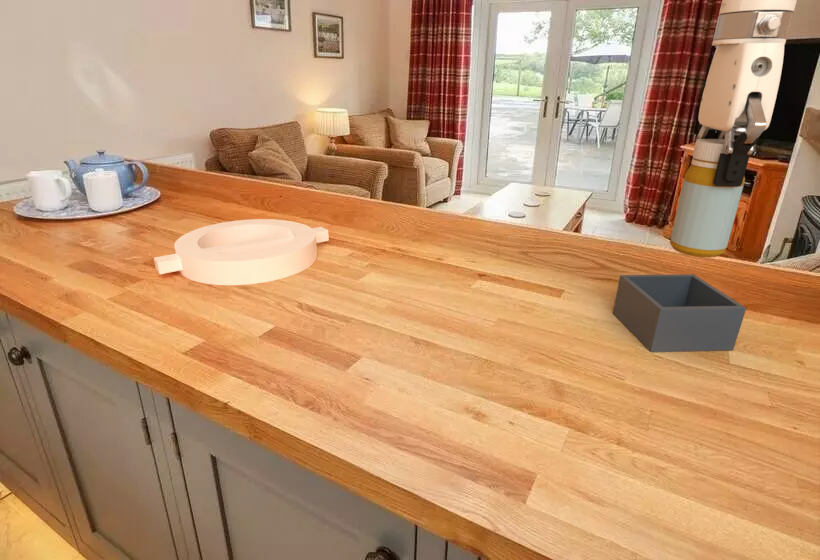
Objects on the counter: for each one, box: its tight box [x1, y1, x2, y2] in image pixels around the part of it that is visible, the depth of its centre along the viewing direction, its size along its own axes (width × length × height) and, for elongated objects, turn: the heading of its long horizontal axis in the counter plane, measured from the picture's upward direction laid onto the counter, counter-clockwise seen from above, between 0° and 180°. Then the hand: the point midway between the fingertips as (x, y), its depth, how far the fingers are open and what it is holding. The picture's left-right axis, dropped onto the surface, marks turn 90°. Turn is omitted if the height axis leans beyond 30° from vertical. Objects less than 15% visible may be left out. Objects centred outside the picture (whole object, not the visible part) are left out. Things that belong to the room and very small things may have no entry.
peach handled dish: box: [153, 218, 330, 286], centre depth 103 cm, size 28×28×5 cm
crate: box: [612, 273, 747, 353], centre depth 76 cm, size 13×13×7 cm
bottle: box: [669, 138, 746, 259], centre depth 67 cm, size 7×7×15 cm
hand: (714, 178), depth 66 cm, fingers closed on bottle, 7 cm apart
